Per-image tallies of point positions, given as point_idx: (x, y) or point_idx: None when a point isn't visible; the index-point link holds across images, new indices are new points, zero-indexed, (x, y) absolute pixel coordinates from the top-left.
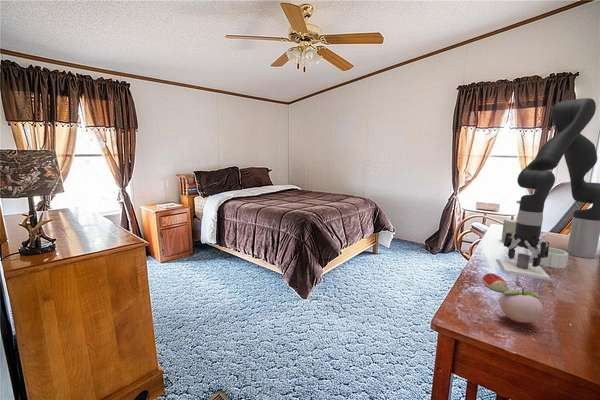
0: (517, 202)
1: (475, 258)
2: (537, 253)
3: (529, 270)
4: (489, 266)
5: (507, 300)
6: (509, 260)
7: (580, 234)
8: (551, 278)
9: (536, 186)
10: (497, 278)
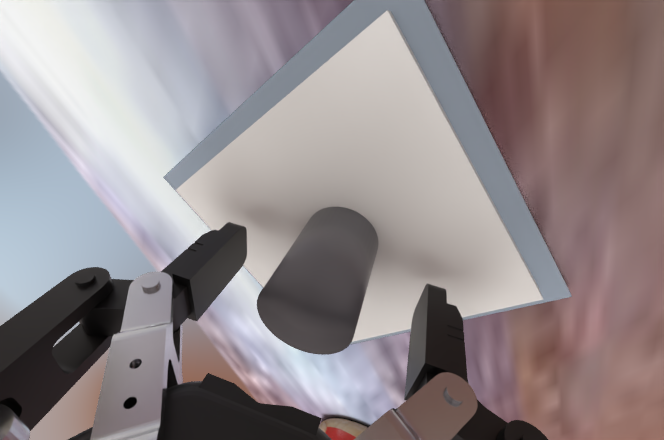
0: None
1: (131, 233)
2: (420, 416)
3: (399, 268)
4: (237, 293)
5: None
6: (221, 166)
7: None
8: (553, 263)
9: None
10: None
